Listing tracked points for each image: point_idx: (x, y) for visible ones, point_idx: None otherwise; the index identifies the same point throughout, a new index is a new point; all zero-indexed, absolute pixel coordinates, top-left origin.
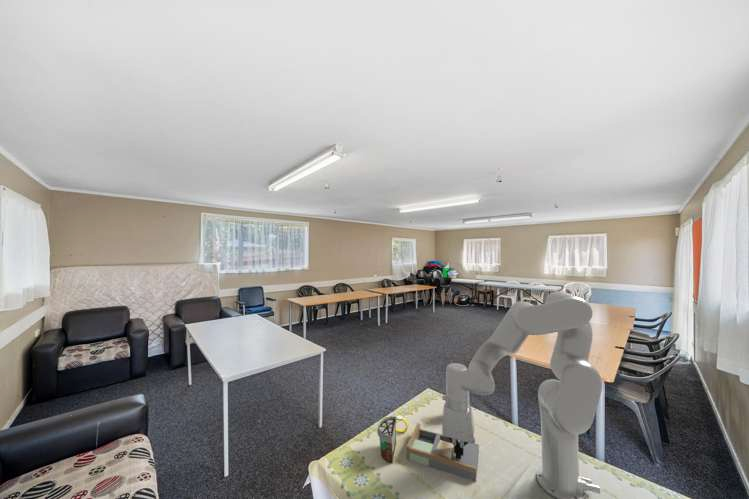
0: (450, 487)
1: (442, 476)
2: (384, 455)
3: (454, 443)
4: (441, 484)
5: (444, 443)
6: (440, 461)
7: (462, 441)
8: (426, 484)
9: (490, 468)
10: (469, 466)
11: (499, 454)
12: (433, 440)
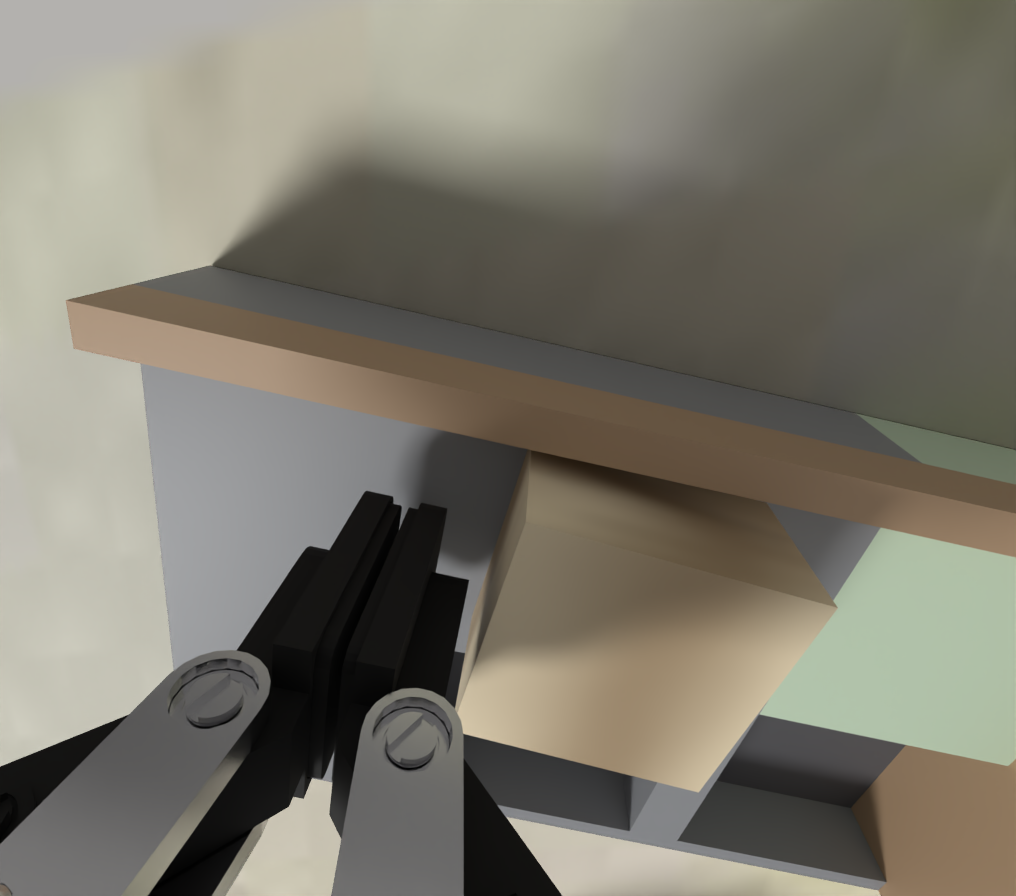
0: (580, 53)
1: (679, 262)
2: None
3: (408, 748)
4: (724, 86)
5: (631, 733)
6: (723, 423)
7: (77, 840)
8: (1007, 17)
9: (81, 498)
10: (187, 338)
11: (35, 669)
12: None
